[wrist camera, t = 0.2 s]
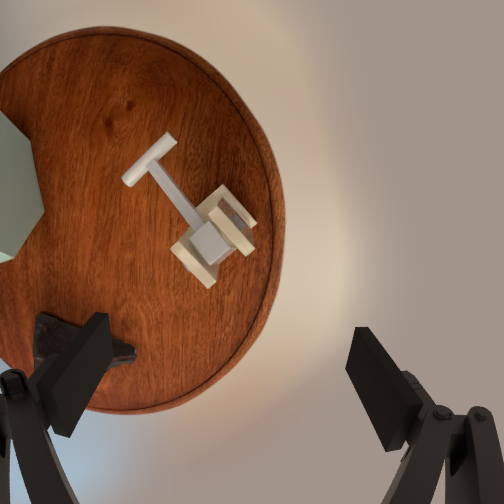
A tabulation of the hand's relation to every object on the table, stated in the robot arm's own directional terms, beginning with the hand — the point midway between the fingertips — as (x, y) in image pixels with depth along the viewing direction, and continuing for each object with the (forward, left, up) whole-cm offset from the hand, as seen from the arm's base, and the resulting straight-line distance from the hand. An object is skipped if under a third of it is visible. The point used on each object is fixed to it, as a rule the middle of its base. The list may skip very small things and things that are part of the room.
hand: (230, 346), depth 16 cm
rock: (+15, -21, -24) cm, 35 cm away
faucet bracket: (-3, -2, -24) cm, 24 cm away
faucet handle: (-5, -5, -14) cm, 16 cm away
